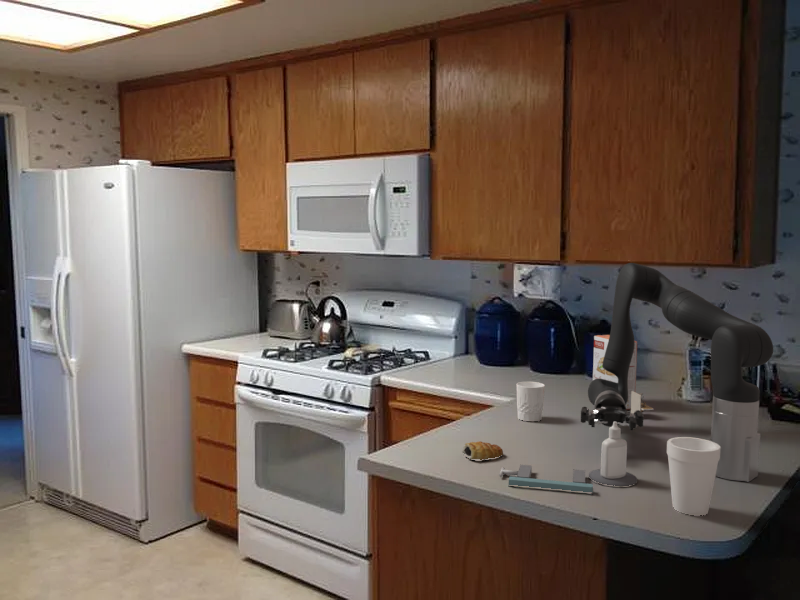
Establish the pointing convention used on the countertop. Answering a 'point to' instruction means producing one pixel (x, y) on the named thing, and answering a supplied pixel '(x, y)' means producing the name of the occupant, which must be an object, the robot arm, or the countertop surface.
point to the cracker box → (601, 373)
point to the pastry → (482, 450)
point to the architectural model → (638, 403)
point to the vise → (525, 480)
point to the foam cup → (692, 473)
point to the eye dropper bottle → (613, 454)
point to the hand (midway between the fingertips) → (612, 424)
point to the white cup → (530, 400)
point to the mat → (623, 481)
